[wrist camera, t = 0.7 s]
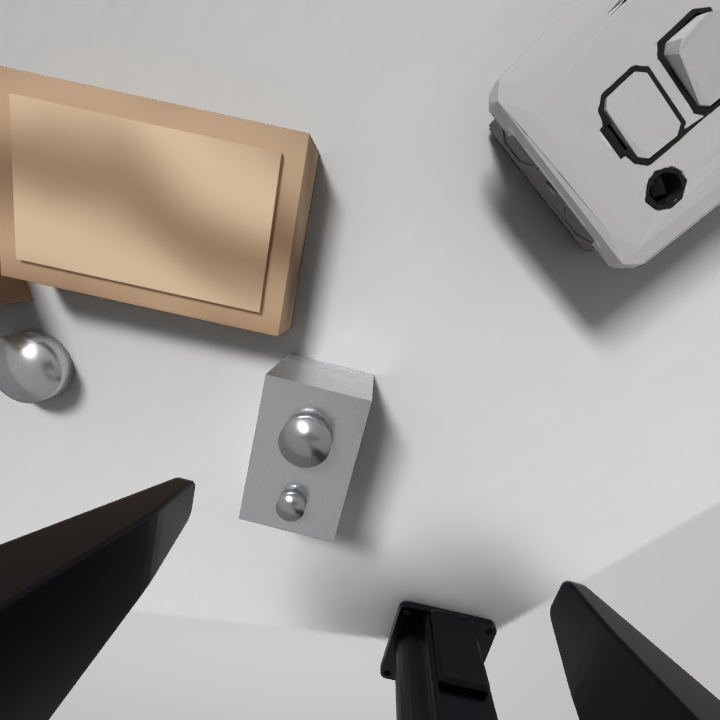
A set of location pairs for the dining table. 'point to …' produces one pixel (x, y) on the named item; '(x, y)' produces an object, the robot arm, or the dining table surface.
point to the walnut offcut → (13, 290)
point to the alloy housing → (306, 445)
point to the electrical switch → (619, 121)
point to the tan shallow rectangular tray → (152, 202)
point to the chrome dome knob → (34, 367)
